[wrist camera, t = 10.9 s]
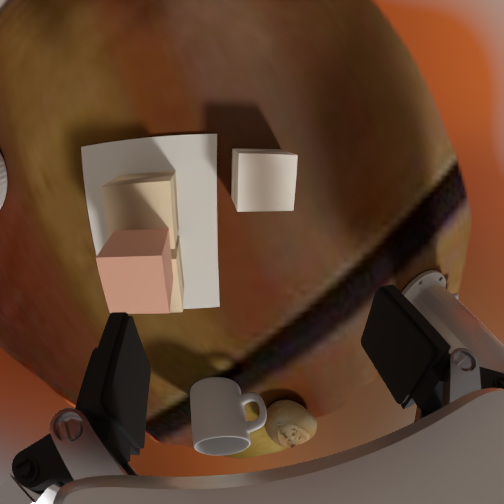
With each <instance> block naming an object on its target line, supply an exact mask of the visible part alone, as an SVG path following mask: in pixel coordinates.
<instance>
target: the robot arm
mask: <svg viewBox="0 0 504 504" xmlns="http://www.w3.org/2000/svg"><path fill="white" fill-rule="evenodd" d="M457 299H458V294H457V293H454V294H451V293H450V292H449V291H448V290H447V289H446V280H445V277H444V276H443V275H442V274H441V273H440V272H439V271H437V270H429V271H426V272H424V273H422V274H420V275H418V276H417V277H416V278H415V279H413V280H412V281H411V282H410V283H409V284H408V285H407V286H406V288H405V289H404V290H403V291H402V293H401V292H400V291H399V290H398V289H397V288H396V287H395V286H394V285H387V286H381V287H380V288H379V289H378V291H376V293H375V296H374V299H373V303H372V306H371V310H370V313H369V316H368V319H367V323H366V326H365V329H364V332H363V335H362V338H361V344H362V347H363V348H364V350H365V352H366V353H367V355H368V356H369V358H370V360H371V361H372V363H373V364H374V366H375V368H376V369H377V371H378V372H379V374H380V376H381V377H382V379H383V381H384V382H385V384H386V385H387V387H388V389H389V390H390V392H391V394H392V395H393V397H394V399H395V400H396V402H397V403H398V404H401V406H402V408H403V409H405V408H407V407H410V406H411V405H413V404H414V403H416V405H417V410H416V416H415V421H414V423H412V424H410V425H408V426H406V427H404V428H401V429H399V430H397V431H395V432H392V433H390V434H388V435H385V436H383V437H381V438H378V439H376V440H373V441H371V442H368V443H365V444H363V445H360V446H357V447H354V448H351V449H348V450H346V451H342V452H339V453H336V454H333V455H330V456H326V457H323V458H319V459H315V460H311V461H307V462H303V463H298V464H294V465H289V466H285V467H279V468H274V469H268V470H263V471H256V472H248V473H239V474H230V475H218V476H217V475H216V476H195V477H160V476H139V475H138V474H137V472H136V471H135V470H134V469H133V468H132V466H131V465H130V464H129V463H128V462H129V461H130V454H132V455H139V452H140V448H144V441H145V426H146V413H147V402H148V392H149V383H150V374H151V370H150V365H149V362H148V359H147V357H146V354H145V351H144V349H143V346H142V343H141V340H140V338H139V335H138V332H137V329H136V326H135V323H134V320H133V317H132V316H128V314H127V313H126V312H112V313H111V314H110V316H109V318H108V321H107V324H106V326H105V329H104V332H103V334H102V337H101V340H100V343H99V346H98V348H95V349H94V350H93V352H92V355H91V358H90V361H89V364H88V367H87V370H86V373H85V376H84V379H83V383H82V386H81V389H80V393H79V396H78V400H77V404H76V408H75V409H74V408H64V409H62V410H59V411H58V412H57V413H56V414H55V415H54V416H53V417H52V419H51V422H50V428H49V430H50V434H48V435H47V436H45V437H44V438H42V439H40V440H39V441H37V442H36V443H34V444H32V445H31V446H29V447H28V448H26V449H24V450H23V451H21V452H19V453H18V454H17V455H16V456H15V458H14V460H13V463H12V471H13V475H10V474H8V475H7V476H6V477H5V479H4V480H3V481H2V482H1V484H0V504H504V345H503V344H502V343H501V342H500V341H499V340H498V339H497V338H496V337H495V336H494V335H493V334H492V333H491V332H490V331H489V330H488V329H487V327H485V325H483V323H481V321H480V320H478V319H477V318H476V317H475V316H474V315H473V314H472V313H471V312H470V311H469V310H468V309H467V308H466V307H465V306H464V305H463V304H462V303H461V302H459V300H457Z"/></svg>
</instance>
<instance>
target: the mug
mask: <svg viewBox="0 0 504 504" xmlns="http://www.w3.org/2000/svg"><path fill="white" fill-rule="evenodd" d="M250 401H255V402H257V404H258V406H259V410H260V414H259V417H258V418H257V419H256V420H254V421H246V417H245V411H244V405H245V404H246V403H248V402H250ZM190 402H191V419H192V434H193V445H194V448H195V450H197V451H198V452H200V453H203V454H208V455H229V454H234V453H238V452H241V451H243V450H245V449H246V448H248V447H249V445H250V434H249V433H250V432H252V431H254V430H257V429H259V428H261V427H262V426H263V425H264V424H265V422H266V419H267V412H266V407H265V404H264V401H263V399H262V398H261V396H260V395H259V394H257V393H254V392H250V393H245V394H242V395H241V390H240V387H239V385H238V384H237V383H236V382H235V381H233V380H231V379H228V378H224V377H210V378H205V379H202V380H199V381H197V382H196V383H195V384H194V385H193V386H192V387H191V389H190Z"/></svg>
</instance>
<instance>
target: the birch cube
mask: <svg viewBox="0 0 504 504" xmlns="http://www.w3.org/2000/svg"><path fill="white" fill-rule="evenodd" d="M297 160H298V155H296V154H293V153H290V152H287V151H284V150H279V149H242V148H232V184H231V197H232V200H233V202H234V205H235V207H236V209H237V212H246V211H293V210H294V198H295V186H296V173H297Z"/></svg>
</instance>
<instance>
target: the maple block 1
mask: <svg viewBox="0 0 504 504" xmlns="http://www.w3.org/2000/svg"><path fill="white" fill-rule="evenodd" d="M102 196H103V204H104V211H105V218H106V224H107V230H108V236H109V237H110V236H111V235H112V233H113V232H114V231H121V230H143V229H167V228H169V235H170V248H171V249H175V247H176V241H177V236H178V230H179V221H178V206H177V186H176V171H163V172H150V173H138V174H128V175H118V176H117V177H115V178H114V179H112V180H111V181H109V182H108V183H106V184H105V185H104V186H102Z"/></svg>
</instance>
